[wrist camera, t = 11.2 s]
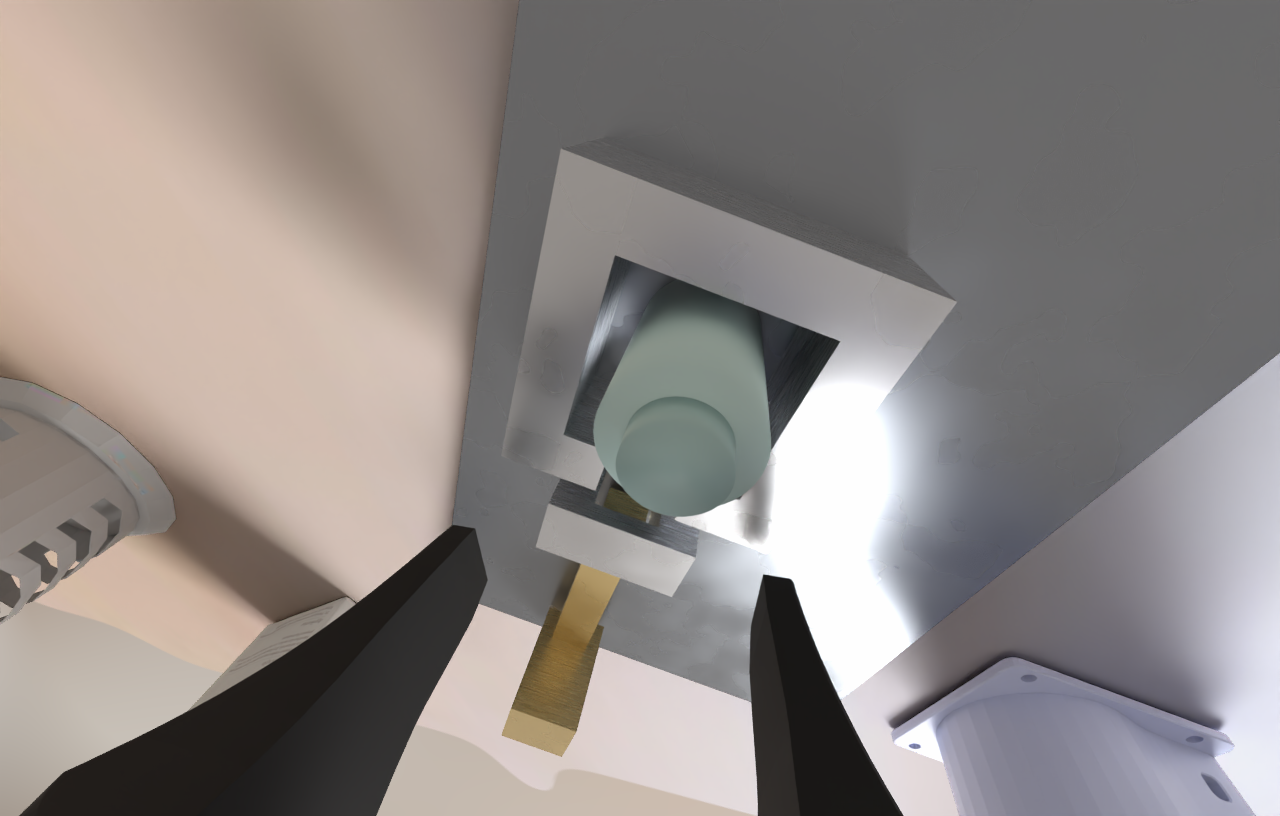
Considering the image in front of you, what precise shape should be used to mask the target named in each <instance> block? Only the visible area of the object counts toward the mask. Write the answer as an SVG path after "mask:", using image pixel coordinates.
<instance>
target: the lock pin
mask: <svg viewBox="0 0 1280 816" xmlns="http://www.w3.org/2000/svg"><path fill="white" fill-rule="evenodd" d="M603 507H605V508H608V509H611V510H613V511H616V512H619V513H622V514H624V515H627V516H630V517H632V518H635V519H638V520H640V521H643V522H646V519H647V514H648V510H649V509H647V508H645V507H643V506H642V505H640V504H639V503H637V502H636V501H635V500H634V499H632V498H631V497H630V496H629V495H628V494H627V493H624V492H621V491H619V490H616V489H613V488H610V489H609V491H608V494H607V497H606V499H605V502H604V504H603ZM619 580H620V578H618V577H616V576H613V575H610V574H607V573H605V572H602V571H599V570H597V569H594V568H591V567H588V566H586V565H583V564H580V565H579V567H578V570H577V573H576V575H575V578H574V580H573V583H572V585H571V588H570V590H569V593H568V595H567V598H566V600H565V603H564V606H563V608H562V611H559V610H557V609H554V608H551V607H550V608H549V611H548V613H547V616H546V619H545V621H544V624H543V627H542V629H541V632H540V634H539V637H538V640H537V642H536V645H535V647H534V650H533V653H532V655H531V658H530V661H529V663H528V666H527V668H526V671H525V674H524V676H523V679H522V681H521V684H520V687H519V689H518V692H517V694H516V697H515V700H514V702H513V705H512V708H511V710H510V713H509V716H508V719H507V721H506V724H505V727H504V730H503V732H502V736H505V737H508V738H510V739H513V740H516V741H519V742H522V743H525V744H527V745H530V746H533V747H536V748H539V749H541V750H544V751H547V752H550V753H553V754H555V755H558V756H561V757H562V755H563V754H564V752H565V750H566V749H567V747H568V745H569V743H570V742H571V740H572V738H573V737H574V735H575V733H576V731H577V727H578V723H579V720H580V716H581V712H582V708H583V705H584V701H585V697H586V693H587V690H588V686H589V682H590V678H591V674H592V671H593V667H594V663H595V659H596V656H597V652H598V648H599V644H600V641H601V637H602V633H603V629H604V627H603V626H601V625H598V622H599V620H600V618H601V616H602V614H603V612H604V610H605V608H606V606H607V604H608V602H609V600H610V598H611V596H612V594H613V592H614V590H615V588H616V586H617V584H618V582H619Z"/></svg>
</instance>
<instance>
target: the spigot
mask: <svg viewBox="0 0 1280 816" xmlns="http://www.w3.org/2000/svg"><path fill="white" fill-rule="evenodd" d="M593 434H594V443H595V447H596V451H597V453H598V456H599V458H600V460H601V462H602V464H603V466H604V467H605V469H606V470H607V471H608V473H609V474H610V475H611V476H612V478H613V479H614V480H615V481H616V482H617V483H618V484H620V485H621V486H622V487H623V488H624V490H625V491H626V493H627V494H628V495H629V496H630V497H631V498H632V499H634V500H635V501H636V502H637V503H639V504H640V505H642V506H643V507H645V508H647V509H649V510H652V511H654V512H657V513H660V514H663V515H668V516H676V517H687V516H695V515H700V514H703V513H706V512H708V511H711V510H713V509H714V508H716V507H718V506H720V505H724V504H726V503H728V502H731V501H733V500H735V499H736V498H738V497H740V496H742V495H743V494H744V493H746V492H747V491H748V490H750V489H751V488H752V487H753V486H754V485H755V484H756V482H757V481H758V480H759V478H760V477H761V476H762V474H763V472H764V470H765V468H766V467H767V464H768V461H769V458H770V452H771V432H770V421H769V410H768V398H767V387H766V376H765V365H764V353H763V342H762V331H761V323H760V318H759V315H758V312H757V310H756V309H755V308H752V307H749V306H747V305H744V304H742V303H739V302H736V301H734V300H731V299H729V298H726V297H723V296H721V295H718V294H715V293H713V292H710V291H708V290H705V289H702V288H700V287H697V286H695V285H692V284H689V283H687V282H684V281H681V280H679V279H677V280H675V281H673V282H671V283H669V284H667V285H666V286H664V287H663V288H662V289H660V290H659V291H658V292H657V293H656V294H655V295H654V297H653V298H652V299H651V300H650V302H649V304H648V305H647V307H646V309H645V311H644V313H643V315H642V317H641V320H640V322H639V324H638V326H637V328H636V330H635V332H634V334H633V336H632V338H631V340H630V343H629V345H628V347H627V349H626V351H625V353H624V355H623V357H622V359H621V361H620V363H619V366H618V368H617V370H616V372H615V374H614V376H613V378H612V380H611V382H610V384H609V386H608V388H607V391H606V393H605V395H604V397H603V399H602V401H601V403H600V405H599V408H598V410H597V412H596V416H595V420H594V429H593Z"/></svg>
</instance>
